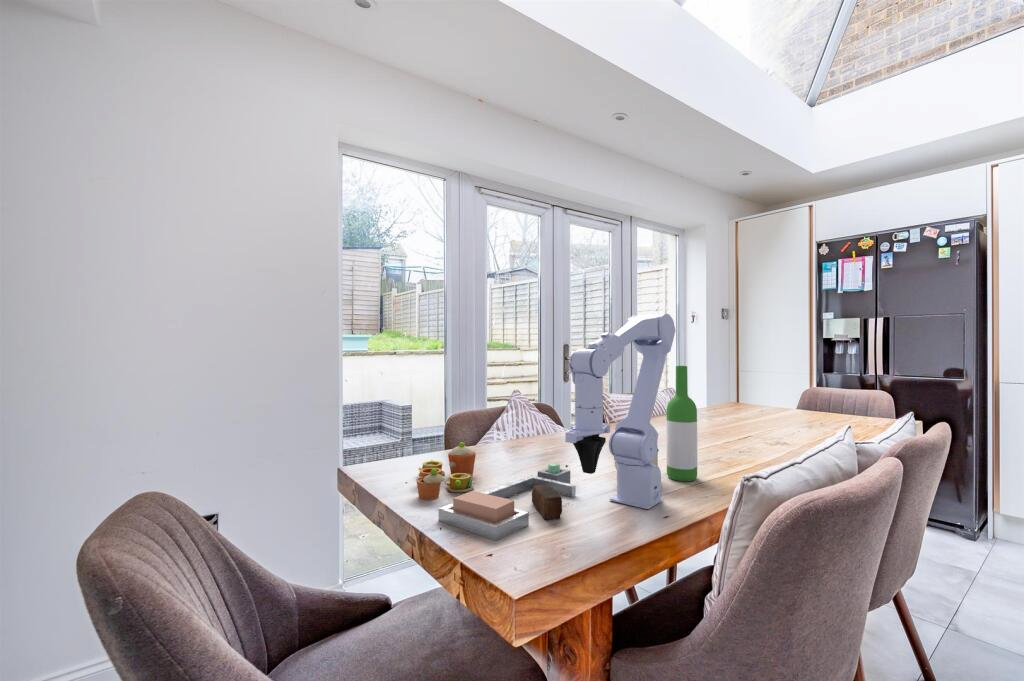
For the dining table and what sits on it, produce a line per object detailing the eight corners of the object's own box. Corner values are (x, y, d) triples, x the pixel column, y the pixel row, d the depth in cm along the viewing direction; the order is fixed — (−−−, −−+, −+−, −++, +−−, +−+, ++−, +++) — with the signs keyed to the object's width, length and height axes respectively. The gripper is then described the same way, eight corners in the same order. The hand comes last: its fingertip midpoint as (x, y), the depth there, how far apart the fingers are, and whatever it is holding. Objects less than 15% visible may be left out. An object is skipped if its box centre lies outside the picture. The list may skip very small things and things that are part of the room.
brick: (562, 519, 99) (562, 497, 99) (544, 521, 98) (544, 498, 98) (548, 503, 109) (548, 482, 109) (531, 504, 108) (531, 483, 108)
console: (570, 484, 123) (570, 470, 123) (557, 489, 118) (557, 475, 118) (551, 479, 127) (551, 466, 127) (537, 485, 122) (537, 471, 122)
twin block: (472, 514, 102) (472, 490, 102) (514, 525, 96) (514, 500, 96) (453, 522, 97) (453, 498, 97) (496, 535, 91) (495, 508, 91)
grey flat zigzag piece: (585, 498, 112) (585, 487, 112) (495, 540, 88) (495, 526, 88) (532, 485, 122) (532, 475, 122) (438, 520, 98) (438, 508, 98)
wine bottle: (702, 478, 128) (702, 365, 128) (688, 484, 122) (688, 367, 123) (675, 472, 133) (675, 365, 134) (661, 478, 128) (660, 365, 128)
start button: (562, 480, 123) (562, 464, 123) (555, 482, 120) (555, 466, 120) (552, 478, 124) (552, 462, 125) (545, 480, 122) (545, 465, 122)
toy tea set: (420, 472, 135) (420, 438, 135) (475, 471, 136) (475, 437, 136) (409, 504, 109) (409, 461, 109) (477, 501, 110) (477, 459, 111)
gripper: (590, 401, 107) (590, 462, 107) (552, 408, 96) (552, 476, 96) (618, 404, 103) (618, 467, 103) (582, 411, 92) (583, 483, 92)
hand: (588, 472), depth 99 cm, fingers closed
